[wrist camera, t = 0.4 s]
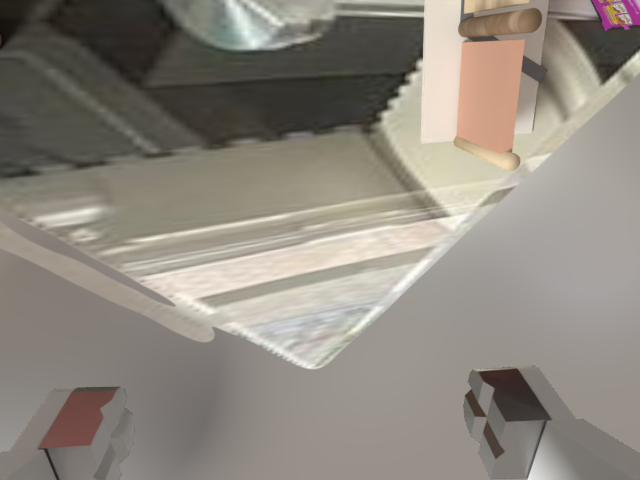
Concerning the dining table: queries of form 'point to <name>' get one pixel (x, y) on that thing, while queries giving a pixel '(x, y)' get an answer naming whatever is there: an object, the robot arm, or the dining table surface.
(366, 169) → the dining table surface
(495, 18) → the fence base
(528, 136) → the dining table surface
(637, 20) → the candy bar box
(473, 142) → the swing panel
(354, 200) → the dining table surface
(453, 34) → the card
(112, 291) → the dining table surface
